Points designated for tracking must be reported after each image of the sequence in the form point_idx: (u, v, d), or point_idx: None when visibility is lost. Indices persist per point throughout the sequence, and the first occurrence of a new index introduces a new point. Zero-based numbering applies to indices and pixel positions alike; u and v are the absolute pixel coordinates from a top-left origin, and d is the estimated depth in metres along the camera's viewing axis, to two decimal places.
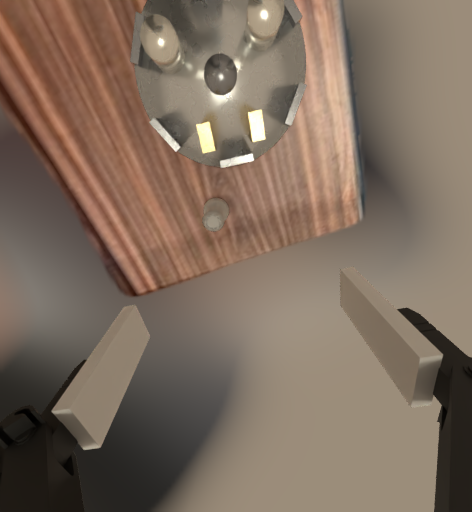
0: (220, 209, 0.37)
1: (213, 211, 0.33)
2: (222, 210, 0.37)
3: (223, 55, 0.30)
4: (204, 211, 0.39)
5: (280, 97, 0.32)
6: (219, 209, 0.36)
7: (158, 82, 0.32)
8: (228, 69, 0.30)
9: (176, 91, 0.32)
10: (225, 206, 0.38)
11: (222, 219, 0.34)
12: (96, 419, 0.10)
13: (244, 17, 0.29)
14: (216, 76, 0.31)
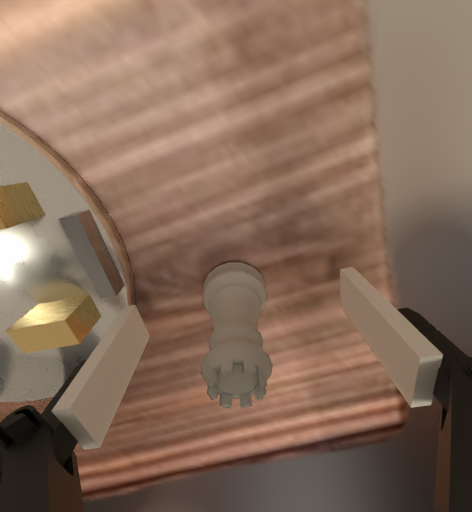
0: (218, 306, 0.13)
1: (203, 371, 0.10)
2: (223, 298, 0.13)
3: None
4: None
5: None
6: (217, 313, 0.13)
7: (5, 376, 0.18)
8: None
9: (6, 355, 0.17)
10: (217, 281, 0.14)
11: (229, 352, 0.10)
12: (96, 419, 0.10)
13: None
14: None
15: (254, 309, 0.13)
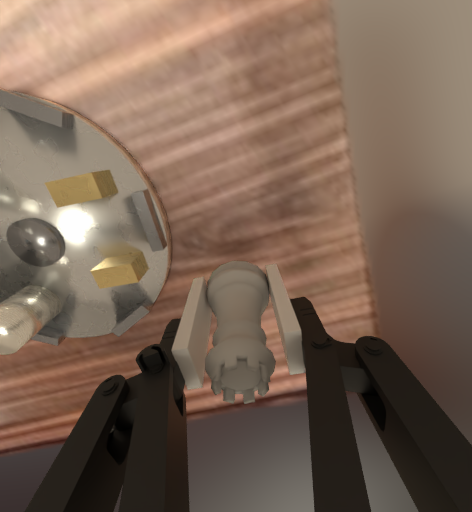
0: (222, 303, 0.13)
1: (207, 367, 0.10)
2: (227, 296, 0.14)
3: (8, 239, 0.20)
4: None
5: (33, 138, 0.17)
6: (221, 310, 0.13)
7: (75, 316, 0.25)
8: (22, 232, 0.20)
9: (78, 298, 0.24)
10: (221, 279, 0.15)
11: (233, 348, 0.10)
12: (198, 363, 0.12)
13: None
14: (37, 250, 0.20)
15: (258, 307, 0.13)
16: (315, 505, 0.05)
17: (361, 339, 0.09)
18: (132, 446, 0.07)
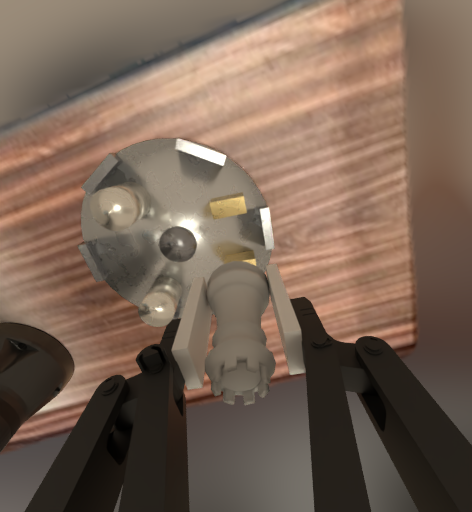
0: (222, 304, 0.13)
1: (207, 368, 0.10)
2: (227, 297, 0.14)
3: (160, 242, 0.27)
4: None
5: (193, 171, 0.25)
6: (221, 310, 0.13)
7: None
8: (172, 237, 0.27)
9: None
10: (221, 279, 0.15)
11: (233, 349, 0.10)
12: (198, 363, 0.12)
13: None
14: (179, 249, 0.28)
15: (258, 308, 0.13)
16: (315, 505, 0.05)
17: (360, 339, 0.09)
18: (132, 446, 0.07)
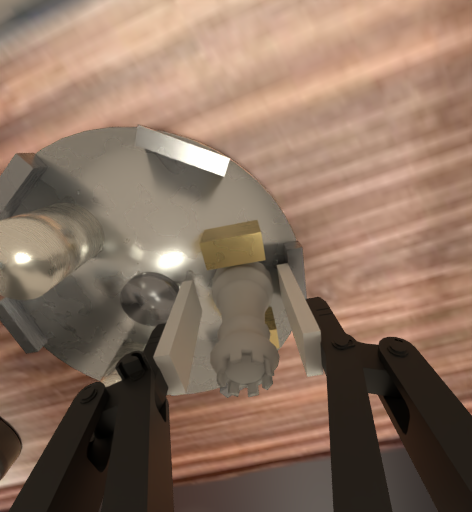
0: (227, 299, 0.14)
1: (212, 361, 0.11)
2: (232, 293, 0.14)
3: (122, 298, 0.17)
4: None
5: (173, 185, 0.14)
6: (226, 306, 0.13)
7: None
8: (140, 290, 0.17)
9: None
10: (226, 276, 0.15)
11: (238, 342, 0.10)
12: (182, 369, 0.11)
13: None
14: (154, 309, 0.17)
15: (262, 304, 0.14)
16: (334, 507, 0.05)
17: (384, 340, 0.09)
18: (113, 455, 0.07)
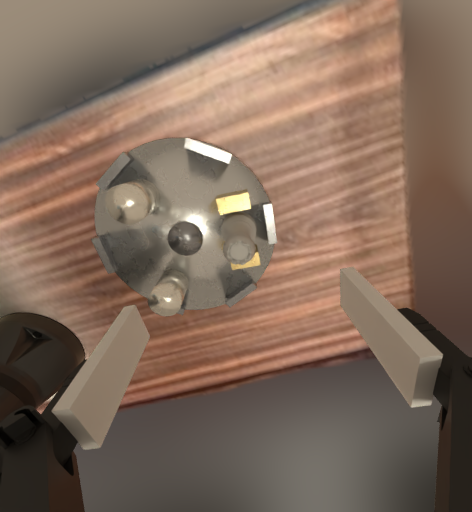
0: (230, 229, 0.26)
1: (224, 249, 0.23)
2: (233, 226, 0.26)
3: (168, 236, 0.29)
4: None
5: (201, 169, 0.26)
6: (229, 232, 0.25)
7: (196, 292, 0.33)
8: (179, 231, 0.29)
9: (202, 279, 0.32)
10: (229, 219, 0.27)
11: (236, 237, 0.22)
12: (96, 419, 0.10)
13: None
14: (187, 243, 0.29)
15: (249, 231, 0.26)
16: None
17: None
18: None
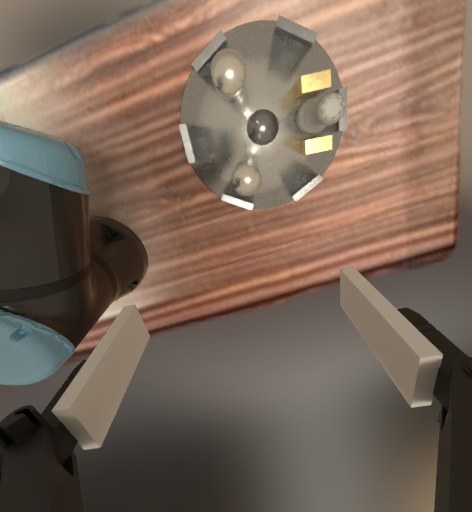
0: (313, 105, 0.29)
1: (317, 107, 0.26)
2: (315, 102, 0.29)
3: (248, 123, 0.32)
4: (312, 131, 0.31)
5: (284, 53, 0.29)
6: (313, 105, 0.28)
7: (263, 189, 0.36)
8: (259, 118, 0.32)
9: (271, 174, 0.35)
10: (309, 101, 0.30)
11: (330, 93, 0.25)
12: (96, 419, 0.10)
13: (219, 101, 0.31)
14: (264, 131, 0.32)
15: None
16: None
17: None
18: None
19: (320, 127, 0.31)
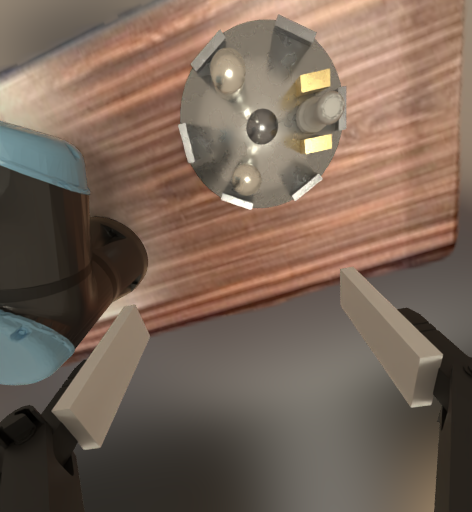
0: (312, 104, 0.29)
1: (317, 107, 0.26)
2: (314, 102, 0.29)
3: (248, 123, 0.32)
4: (311, 130, 0.31)
5: (283, 53, 0.29)
6: (313, 105, 0.28)
7: (263, 189, 0.36)
8: (258, 118, 0.32)
9: (271, 173, 0.35)
10: (308, 100, 0.30)
11: (330, 93, 0.25)
12: (96, 419, 0.10)
13: (219, 100, 0.31)
14: (263, 131, 0.32)
15: None
16: None
17: None
18: None
19: (320, 126, 0.31)
